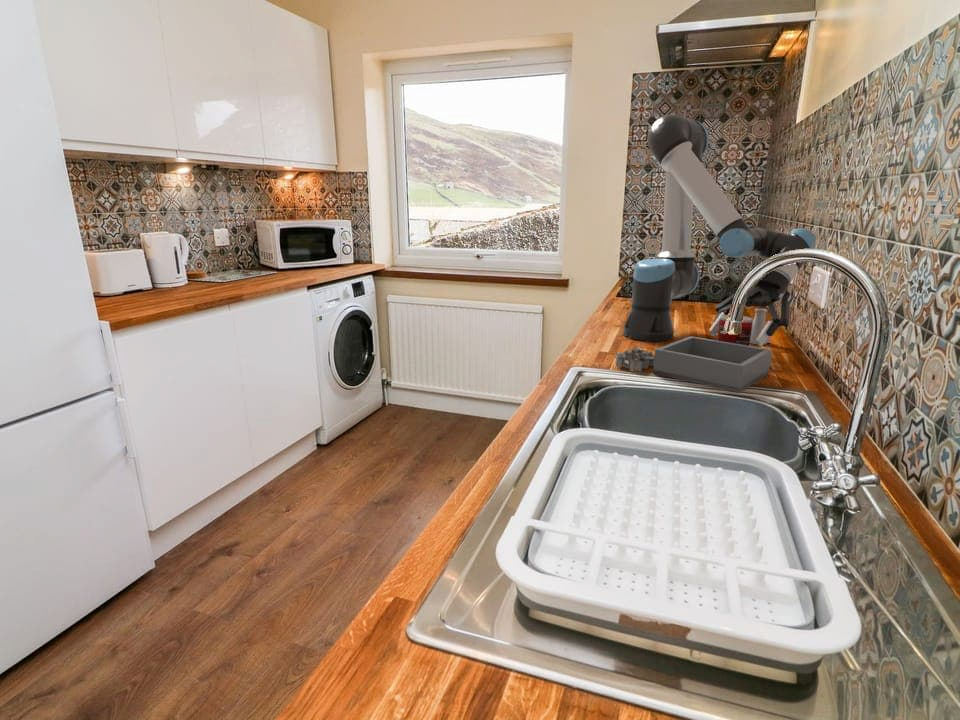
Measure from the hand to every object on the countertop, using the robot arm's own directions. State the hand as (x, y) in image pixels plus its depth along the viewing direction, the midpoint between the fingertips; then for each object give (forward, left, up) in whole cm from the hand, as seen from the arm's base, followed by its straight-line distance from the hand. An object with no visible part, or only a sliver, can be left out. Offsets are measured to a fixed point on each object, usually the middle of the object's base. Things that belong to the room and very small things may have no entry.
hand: (734, 338), depth 143 cm
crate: (+18, +2, -5) cm, 19 cm away
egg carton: (+24, -15, -6) cm, 29 cm away
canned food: (-1, 0, -6) cm, 6 cm away
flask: (-25, -1, -6) cm, 26 cm away
